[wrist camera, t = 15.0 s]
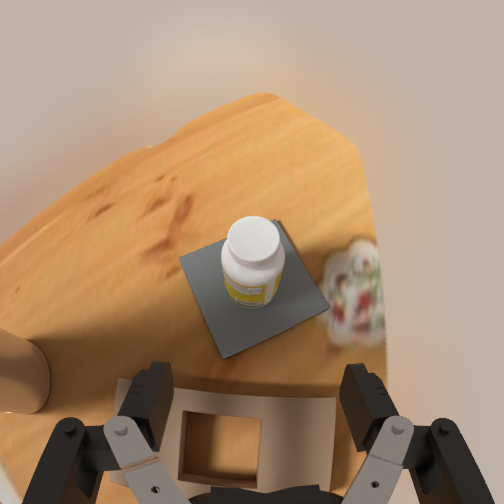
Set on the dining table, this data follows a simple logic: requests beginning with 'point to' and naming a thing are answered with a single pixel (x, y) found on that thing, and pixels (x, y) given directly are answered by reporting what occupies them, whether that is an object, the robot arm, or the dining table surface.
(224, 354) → the slate pad
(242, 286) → the supplement bottle
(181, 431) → the bottle holder tray
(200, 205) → the dining table surface
